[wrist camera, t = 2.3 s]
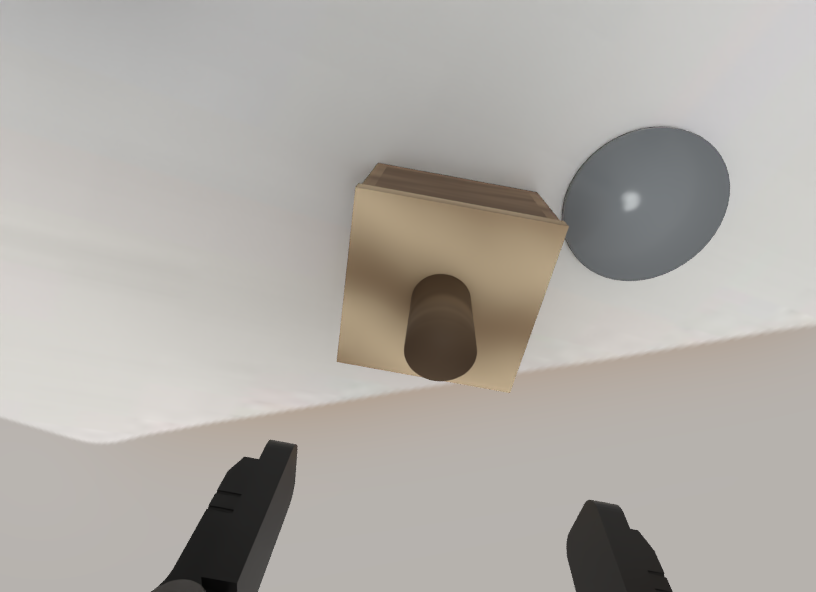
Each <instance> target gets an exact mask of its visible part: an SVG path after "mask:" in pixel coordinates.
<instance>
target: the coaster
mask: <svg viewBox="0 0 816 592" xmlns="http://www.w3.org/2000/svg"><path fill="white" fill-rule="evenodd" d="M729 196H730V181H729V174H728V171H727V167H726V165H725V163H724V161H723V159H722V157H721V155H720V154H719V152H718V151H717V150H716V148H714V147H713V146H712V145H711V144H710V143H709V142H708V141H706V140H705V139H703V138H702V137H700V136H698V135H696V134H694V133H691V132H688V131H685V130H681V129H676V128H669V127H650V128H644V129H639V130H636V131H632V132H629V133H627V134H624V135H622V136H619V137H617V138H616V139H614V140H612V141H610V142H608V143H607V144H606V145H604V146H603V147H601V148H600V149H598V150H597V151H596V152H595V153H594V154H593V155H592V156H591V157H590V158H589V159H588V160H587V161H586V162H585V163H584V164H583V165H582V167H581V168H580V169H579V171H578V172H577V174H576V175H575V177H574V178H573V180H572V182H571V184H570V186H569V189H568V191H567V193H566V197H565V200H564V204H563V212H562V221H565V222H566V224H567V225H568V226H569V228H568V230H567V233H566V236H565V238H566V241H567V243H568V245H569V247H570V249H571V250H572V252H573V253H574V255H575V256H576V257H577V259H578V260H579V261H580V262H581V263H582V264H583V265H584V266H586V267H587V268H588V269H590V270H591V271H593V272H595V273H596V274H598V275H601V276H604V277H606V278H610V279H614V280H622V281H637V280H645V279H650V278H654V277H657V276H660V275H663V274H666V273H668V272H670V271H672V270H674V269H676V268H678V267H680V266H681V265H683V264H685V263H686V262H687V261H689V260H690V259H692V258H693V257H694V256H695V255H696V254H697V253H699V252H700V251H701V250H702V249H703V248H704V247H705V246H706V245H707V243H708V242H709V241H710V240H711V238H712V237H713V236H714V234H715V233H716V231H717V229H718V228H719V226H720V224H721V222H722V220H723V218H724V216H725V213H726V209H727V206H728V201H729Z"/></svg>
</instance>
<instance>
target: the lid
mask: <svg viewBox="0 0 816 592" xmlns="http://www.w3.org/2000/svg"><path fill="white" fill-rule="evenodd" d="M568 228H569V226H568V225H567V224H566V222H565V221H561V220H555V219H550V218H545V217H539V216H534V215H528V214H523V213H517V212H512V211H507V210H501V209H496V208H490V207H485V206H479V205H474V204H469V203H463V202H458V201H452V200H447V199H441V198H436V197H431V196H425V195H420V194H414V193H409V192H403V191H398V190H393V189H387V188H382V187H376V186H371V185H365V184H360V183H358V185H357V186H356V187H355V197H354V206H353V215H352V225H351V234H350V243H349V252H348V262H347V271H346V280H345V290H344V299H343V308H342V317H341V327H340V336H339V345H338V355H337V362H341V363H346V364H352V365H358V366H363V367H369V368H374V369H380V370H385V371H391V372H396V373H402V374H407V375H413V376H419V377H424V378H426V379H429V380H433V381H446V382H452V383H457V384H463V385H468V386H474V387H480V388H485V389H491V390H496V391H502V392H508V393H510V391H511V388H512V386H513V382H514V379H515V377H516V374H517V371H518V369H519V366H520V363H521V360H522V357H523V355H524V352H525V349H526V346H527V343H528V340H529V338H530V335H531V332H532V329H533V326H534V324H535V321H536V318H537V315H538V312H539V309H540V307H541V304H542V301H543V298H544V295H545V293H546V290H547V287H548V284H549V281H550V278H551V276H552V273H553V270H554V267H555V264H556V261H557V259H558V256H559V253H560V250H561V247H562V245H563V242H564V239H565V236H566V233H567V230H568Z"/></svg>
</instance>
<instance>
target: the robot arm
mask: <svg viewBox="0 0 816 592" xmlns="http://www.w3.org/2000/svg"><path fill="white" fill-rule="evenodd" d="M296 460H297V445H296V444H290V443H286V442H280V441H275V440H269V441H268V443H267V444H266V446H265V448H264V450H263V452H262V454H261V456H260V459H254V458H249V457H244V458H243V459H241V460H240V461H239V462H238V463H237V464H236V465H234V466H233V467H232V468H231V469H230V470H229V471H228V472H227V474H226V475H225V477H224V479H223V481H222V482H221V484H220V486H219V488H218V490H217V493H216V494H215V495H214V497H213V499H212V500H211V502H210V504H209V507H208V509H206V511H205V513H204V515H203V516H202V518H201V520H200V522H199V524H198V526H197V527H196V529H195V531H194V533H193V534H192V536H191V538H190V540H189V541H188V543H187V545H186V547H185V549H184V550H183V552H182V554H181V556H180V558H179V560H178V561H177V563H176V565H175V566H174V568H173V570H172V571H171V573H170V574H169V575H168V577H167V578H166V579H165V580H164V581H163V582H162V583H161V584H160V585H159V586H158V587H157V588H155V589H154V590H153V591H151V592H258V589H259V587H260V584H261V581H262V578H263V576H264V573H265V570H266V568H267V565H268V562H269V559H270V557H271V554H272V551H273V549H274V545H275V543H276V540H277V538H278V535H279V532H280V530H281V527H282V524H283V521H284V519H285V516H286V513H287V510H288V508H289V505H290V502H291V498H292V495H293V490H294V484H295V473H296ZM567 558H568V562H569V566H570V570H571V573H572V578H573V581H574V585H575V589H576V592H672V589H671V587H670V585H669V583H668V580H667V578H665V577H664V572H663V569H662V567H661V565H660V562H659V560H658V558H657V556H656V554H655V551H654V550H653V549H652V547H651V546H650V545H649V544H648V542H647V541H646V540H645V539H644V537H643V536H642V535H641V533H640V532H639V531H638V530H633V529H630V527H629V525H628V523H627V520H626V518H625V515H624V513H623V511H622V509H621V508H620V507H619V506H618V505H615V504H610V503H605V502H599V501H594V500H588V501H586V503H585V504H584V506H583V508H582V510H581V512H580V513H579V515H578V517H577V519H576V521H575V523H574V525H573V526H572V528H571V530H570V532H569V534H568V538H567Z"/></svg>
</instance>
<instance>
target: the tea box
mask: <svg viewBox="0 0 816 592" xmlns="http://www.w3.org/2000/svg"><path fill="white" fill-rule="evenodd" d="M362 184H365V185H371V186H376V187H382V188H387V189H393V190H398V191H403V192H409V193H414V194H420V195H425V196H431V197H436V198H441V199H447V200H452V201H458V202H463V203H469V204H474V205H479V206H485V207H490V208H496V209H501V210H507V211H512V212H517V213H523V214H528V215H534V216H539V217H545V218H550V219H555V220H559V219H558V218H557V216H556V215H555V214H554V213H553V211H552V210H551V209H550V208H549V207H548V205H547V204H546V203H545V202H544V200H543V199H542V198H541V197H540V195H539V194H538V193H537V192H532V191H527V190H522V189H516V188H511V187H505V186H500V185H495V184H489V183H484V182H478V181H473V180H467V179H462V178H457V177H451V176H446V175H440V174H435V173H430V172H424V171H419V170H413V169H408V168H402V167H397V166H392V165H386V164H381V163H378V164H377V165H376V166H375V168H374V169H373V170H372V172H371V173H370V174H369V175H368V177H367V178H366V179H365V181H364V182H363V183H362Z"/></svg>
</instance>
